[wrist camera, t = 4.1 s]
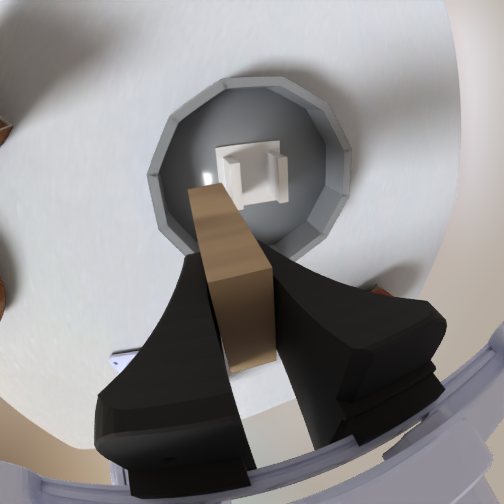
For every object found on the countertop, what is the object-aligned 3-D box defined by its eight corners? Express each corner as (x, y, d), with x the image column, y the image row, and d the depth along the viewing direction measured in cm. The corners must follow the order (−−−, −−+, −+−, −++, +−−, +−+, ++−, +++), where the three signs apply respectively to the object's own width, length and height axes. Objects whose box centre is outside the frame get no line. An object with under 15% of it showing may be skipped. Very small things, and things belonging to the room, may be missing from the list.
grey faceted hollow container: (325, 236, 24) (343, 253, 21) (173, 268, 21) (175, 291, 19) (327, 81, 17) (351, 80, 14) (140, 95, 14) (134, 92, 12)
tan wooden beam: (232, 254, 15) (276, 360, 9) (202, 261, 14) (231, 372, 9) (221, 182, 12) (272, 267, 7) (187, 189, 12) (207, 282, 6)
